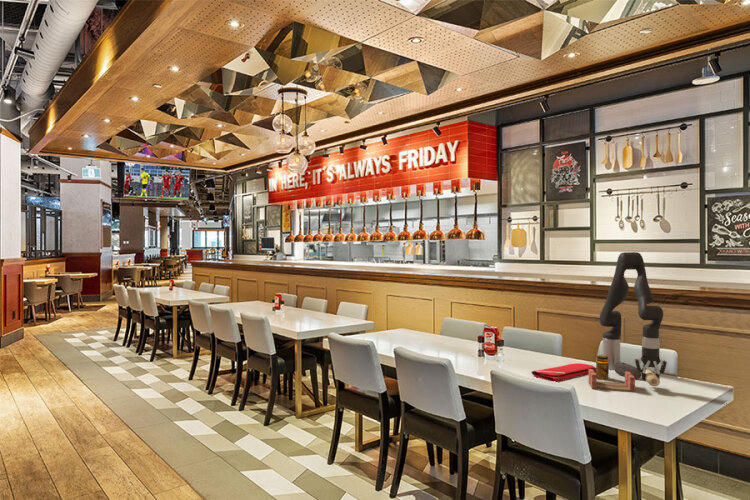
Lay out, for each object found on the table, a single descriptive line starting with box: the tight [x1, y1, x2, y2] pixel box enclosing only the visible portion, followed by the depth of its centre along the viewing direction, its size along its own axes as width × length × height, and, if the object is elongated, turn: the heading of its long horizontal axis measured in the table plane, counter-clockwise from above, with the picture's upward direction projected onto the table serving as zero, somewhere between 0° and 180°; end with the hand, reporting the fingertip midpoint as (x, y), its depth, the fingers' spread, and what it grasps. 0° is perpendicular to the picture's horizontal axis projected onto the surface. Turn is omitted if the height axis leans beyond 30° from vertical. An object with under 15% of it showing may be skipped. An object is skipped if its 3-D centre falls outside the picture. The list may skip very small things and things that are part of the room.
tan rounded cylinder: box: [645, 369, 661, 387], centre depth 235 cm, size 12×5×5 cm, turn 164°
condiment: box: [595, 354, 610, 382], centre depth 255 cm, size 7×8×12 cm
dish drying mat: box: [530, 362, 596, 383], centre depth 265 cm, size 16×41×4 cm, turn 124°
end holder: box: [587, 369, 636, 393], centre depth 238 cm, size 12×19×7 cm, turn 74°
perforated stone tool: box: [614, 361, 642, 380], centre depth 258 cm, size 15×5×7 cm, turn 22°
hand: (650, 380), depth 235 cm, fingers closed on tan rounded cylinder, 5 cm apart
